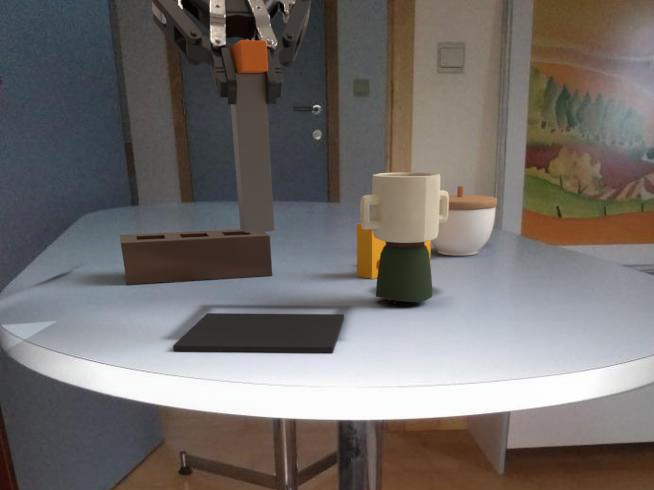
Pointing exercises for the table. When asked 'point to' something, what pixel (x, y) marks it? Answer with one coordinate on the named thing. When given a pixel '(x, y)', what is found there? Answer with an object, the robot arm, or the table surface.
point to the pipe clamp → (371, 252)
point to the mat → (263, 333)
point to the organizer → (195, 256)
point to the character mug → (404, 231)
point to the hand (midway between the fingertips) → (252, 95)
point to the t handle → (252, 137)
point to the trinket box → (466, 224)
